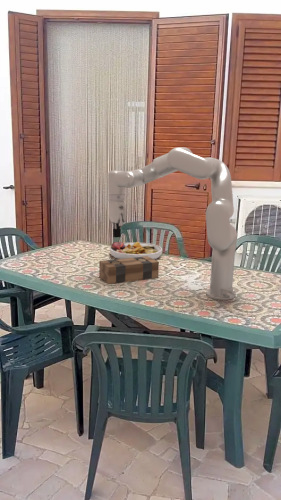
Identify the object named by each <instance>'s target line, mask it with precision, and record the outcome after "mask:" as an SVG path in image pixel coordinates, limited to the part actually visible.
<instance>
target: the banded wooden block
mask: <svg viewBox="0 0 281 500" xmlns="http://www.w3.org/2000/svg"><path fill="white" fill-rule="evenodd" d="M138 259H146V261H143V262H139V261H138ZM115 261H117V262H120V264H115V265H113V264H112V262H115ZM98 262H99V263H98V264H99V273H98V274H99V275H98V276H99V278H100V279H101V280H102V281H104V282H105V283H107V284H108V285H114V284H121V283H127V282H129V283H130V282H135V281H144V280H153V279H158V278H159V268H160V267H159V266H160V261H158V260H157V259H152V258H150V257H148V256H143V257H134V258H124V259H117V258H115V259H107V260H99V261H98Z"/></svg>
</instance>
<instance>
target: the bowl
mask: <svg viewBox="0 0 281 500" xmlns="http://www.w3.org/2000/svg"><path fill="white" fill-rule="evenodd" d="M109 253H110V254H111V256H112V257H113V258H115V259H124V258H134V257H143V256H148V257H150V258H152V259H154V260H157V259H158V258H160V256H161V255H162V253H163V248H162V247H161V246H160V245H157V244H153V243H148V242H140V241H136V242H134V241H133V242H131V241H130V242H122V241H118V242H117V241H114V242H113V243H112V244H111V246H110V247H109Z"/></svg>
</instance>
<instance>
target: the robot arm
mask: <svg viewBox="0 0 281 500" xmlns="http://www.w3.org/2000/svg"><path fill="white" fill-rule="evenodd" d="M178 171H179V172H180V173H183V174H186V175H188V176H190V177H192V178H195V179H198V180H207V179H210V181H211V184H210V185H211V186H210V187H211V188H210V191H211V202H210V203H209V204H208V205H207V208H206V211H205V222H206V235H207V236H206V238H207V242H208V245H209V246H210V248H212V254H211V266H210V281H209V289H207V290H206V292H205V294H206V297H208V298H210V299H212V300H217V301H228V300H229V301H231V300H234V298H236V296H237V293H236V292H234V287H233V283H234V282H233V281H234V270H235V269H234V268H235V257H236V248H237V242H238V241H237V240H238V232H237V229H236V227H234V225H233V224H231V221H230V219H231V218H232V216H233V215H234V212H235V207H234V198H233V197H234V196H233V186H232V175H231V173H230V169H229V168H228V166H227V164H226V163H225V162H223V161H222V160H220V159H218V158H214V157H210V156H209V157H207V156H206V157H202V156H199V155H197V154H195V153H193V151H192V150H191V148H189V147H188V148H187V147H184V146H183V147H181V146H179V147H178V146H177V147H173V148H172V149H171V150H169V152H168V153H165V154H163V155H162V154H161V155H160V156H158V157H155V158H154V159H153V160H152V162H151V163H149V164H147V165H144V166H142V167H140V168H137V169H133V170H132V169H131V170H126V171H125V170H114V169H113V170H109V171H108V174H107V181H108V182H107V185H108V187H107V190H108V197H107V199H108V203H109V204H108V219H109V221H111V222H110V223H111V224H112V237H113V238H121V237H122V236H121V235H122V230H121V229H122V227H123V223H124V224H125V223H126V222H127V210H126V202H125V201H126V199H125V198H126V193H125V192H126V189H131V188H136V187H137V188H138V187H141V186H144V185H146V184H147V183H151V182H154V181H155V180H158V179H161V178H163V177H166V176H168V175H171V174H173V173H176V172H178ZM125 188H126V189H125ZM230 224H231V225H230Z"/></svg>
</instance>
